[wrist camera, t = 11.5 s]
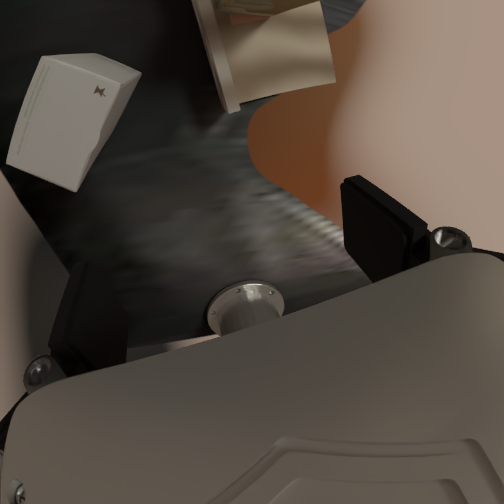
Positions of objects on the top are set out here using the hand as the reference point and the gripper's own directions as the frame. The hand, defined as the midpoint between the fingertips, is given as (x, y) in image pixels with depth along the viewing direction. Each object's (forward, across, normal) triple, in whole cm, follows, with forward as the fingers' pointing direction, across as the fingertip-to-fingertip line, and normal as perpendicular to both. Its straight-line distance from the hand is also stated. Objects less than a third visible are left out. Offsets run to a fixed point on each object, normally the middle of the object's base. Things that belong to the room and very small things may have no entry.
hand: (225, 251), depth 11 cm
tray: (+26, -11, -10) cm, 30 cm away
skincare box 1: (+26, +8, -7) cm, 28 cm away
